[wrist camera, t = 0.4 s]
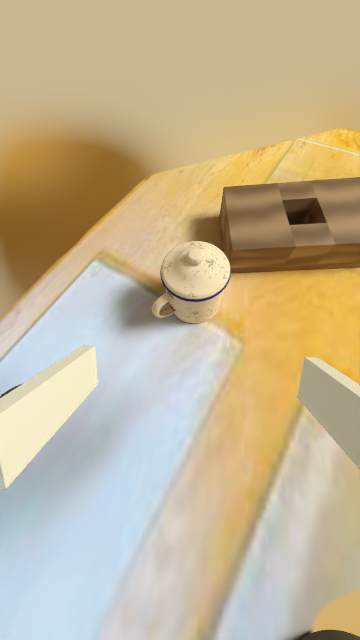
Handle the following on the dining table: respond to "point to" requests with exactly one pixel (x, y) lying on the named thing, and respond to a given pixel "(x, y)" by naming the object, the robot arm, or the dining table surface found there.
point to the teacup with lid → (193, 282)
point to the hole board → (292, 225)
